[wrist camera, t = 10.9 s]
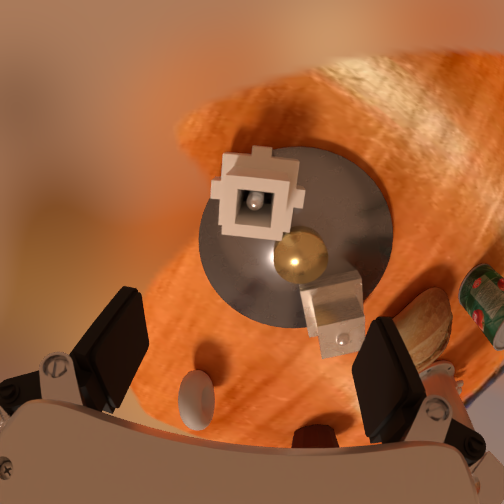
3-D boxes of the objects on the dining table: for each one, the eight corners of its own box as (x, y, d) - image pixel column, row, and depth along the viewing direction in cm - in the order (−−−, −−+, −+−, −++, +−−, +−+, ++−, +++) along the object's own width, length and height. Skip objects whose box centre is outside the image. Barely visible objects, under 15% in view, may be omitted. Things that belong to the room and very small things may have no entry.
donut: (185, 356, 40) (168, 407, 31) (206, 356, 40) (192, 409, 31) (201, 393, 44) (190, 439, 35) (220, 394, 44) (211, 441, 35)
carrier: (406, 166, 26) (450, 184, 18) (361, 326, 35) (377, 374, 27) (205, 136, 26) (178, 140, 18) (201, 312, 36) (184, 360, 28)
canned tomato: (450, 306, 33) (484, 353, 23) (470, 260, 30) (513, 302, 20) (480, 307, 33) (513, 348, 23) (499, 265, 30) (538, 302, 20)
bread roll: (452, 298, 33) (477, 331, 26) (386, 362, 39) (399, 399, 31) (421, 267, 31) (450, 301, 24) (348, 342, 37) (359, 384, 30)
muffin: (282, 426, 48) (281, 467, 39) (335, 416, 46) (341, 458, 37) (294, 446, 52) (294, 482, 43) (340, 438, 50) (344, 474, 41)
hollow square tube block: (307, 151, 25) (320, 159, 19) (295, 234, 29) (302, 266, 23) (217, 142, 26) (200, 146, 19) (212, 225, 29) (196, 254, 23)
